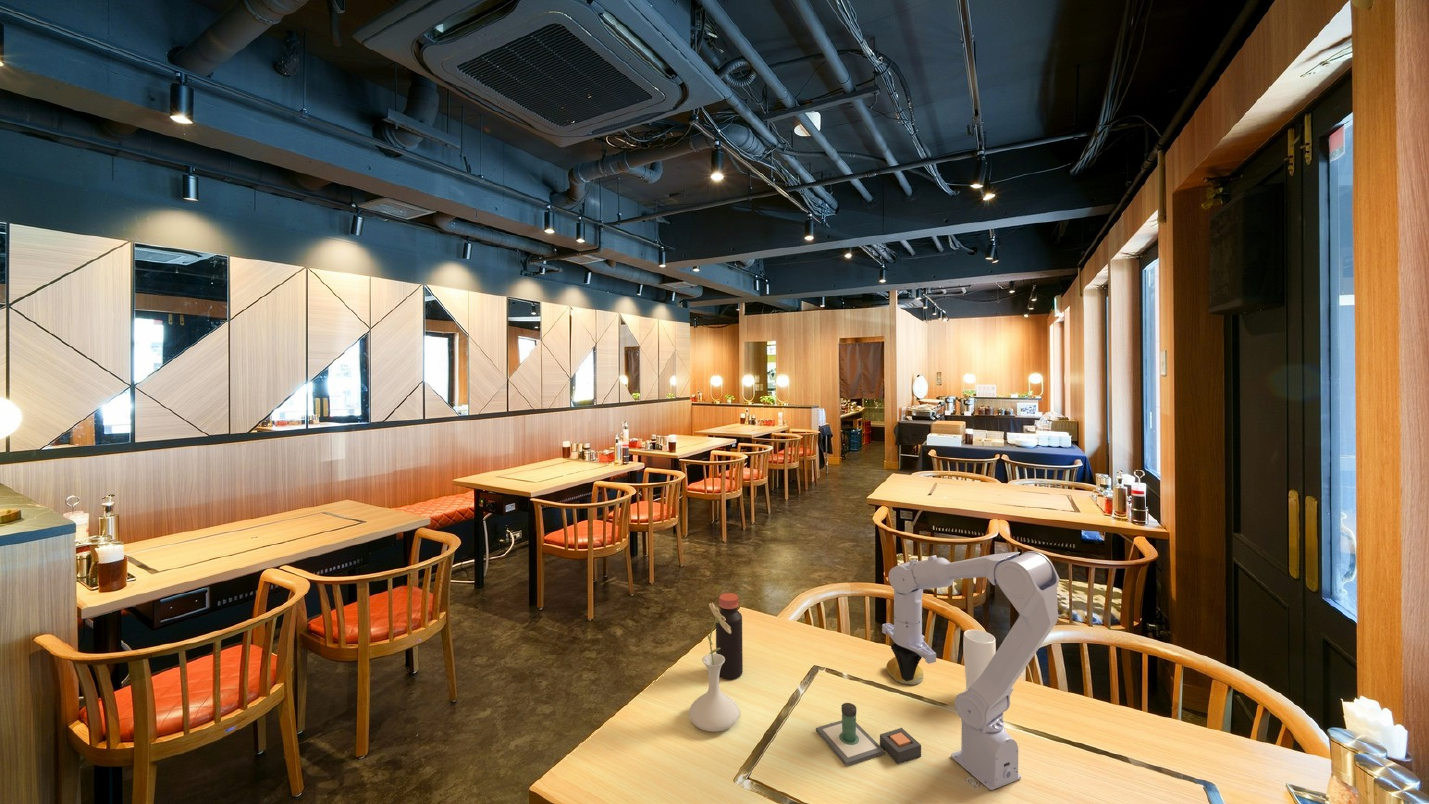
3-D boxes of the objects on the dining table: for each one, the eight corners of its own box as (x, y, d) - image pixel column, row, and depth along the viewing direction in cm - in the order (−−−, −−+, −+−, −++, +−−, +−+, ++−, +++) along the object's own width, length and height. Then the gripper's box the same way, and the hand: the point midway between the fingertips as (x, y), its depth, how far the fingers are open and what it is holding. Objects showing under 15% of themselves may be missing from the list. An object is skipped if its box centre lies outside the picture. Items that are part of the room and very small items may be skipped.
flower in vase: (741, 737, 110) (740, 621, 109) (687, 738, 110) (685, 622, 109) (738, 699, 123) (737, 595, 122) (690, 700, 123) (688, 596, 122)
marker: (859, 740, 108) (859, 709, 107) (847, 744, 107) (847, 713, 106) (850, 731, 110) (850, 701, 110) (838, 735, 109) (838, 704, 109)
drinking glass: (987, 690, 126) (988, 629, 125) (1000, 708, 119) (1001, 643, 118) (958, 689, 126) (959, 628, 126) (969, 706, 120) (969, 642, 119)
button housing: (921, 756, 104) (921, 745, 104) (898, 764, 102) (898, 752, 102) (901, 738, 109) (901, 727, 109) (879, 745, 107) (879, 734, 107)
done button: (910, 749, 105) (910, 741, 105) (899, 753, 104) (899, 744, 104) (900, 740, 108) (900, 732, 107) (889, 744, 107) (889, 735, 106)
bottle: (712, 678, 132) (712, 600, 131) (720, 664, 139) (719, 590, 138) (739, 682, 130) (738, 603, 129) (745, 668, 137) (744, 593, 136)
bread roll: (903, 689, 127) (903, 673, 127) (881, 669, 136) (881, 654, 136) (931, 683, 130) (931, 667, 129) (908, 664, 138) (908, 649, 138)
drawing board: (884, 754, 105) (884, 749, 105) (846, 766, 102) (846, 762, 102) (851, 721, 115) (851, 716, 115) (815, 731, 112) (815, 727, 112)
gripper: (947, 629, 109) (947, 693, 109) (899, 602, 122) (899, 658, 123) (921, 635, 106) (920, 700, 107) (874, 607, 120) (874, 665, 120)
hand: (907, 678), depth 115 cm, fingers closed
